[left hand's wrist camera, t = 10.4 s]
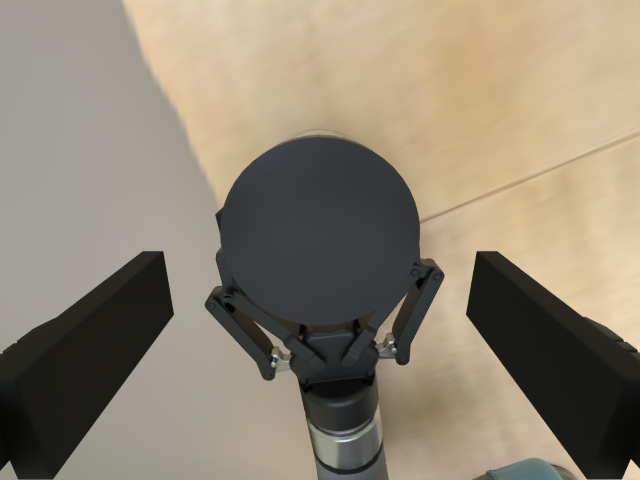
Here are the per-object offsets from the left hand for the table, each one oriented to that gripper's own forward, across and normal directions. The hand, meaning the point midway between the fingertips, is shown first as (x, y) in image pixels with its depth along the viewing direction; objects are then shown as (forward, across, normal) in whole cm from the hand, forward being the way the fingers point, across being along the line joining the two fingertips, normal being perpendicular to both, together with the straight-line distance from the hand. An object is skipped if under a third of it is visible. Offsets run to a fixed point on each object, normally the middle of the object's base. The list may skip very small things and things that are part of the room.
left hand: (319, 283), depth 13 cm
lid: (+5, 0, 0) cm, 5 cm away
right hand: (+15, +1, 0) cm, 15 cm away
